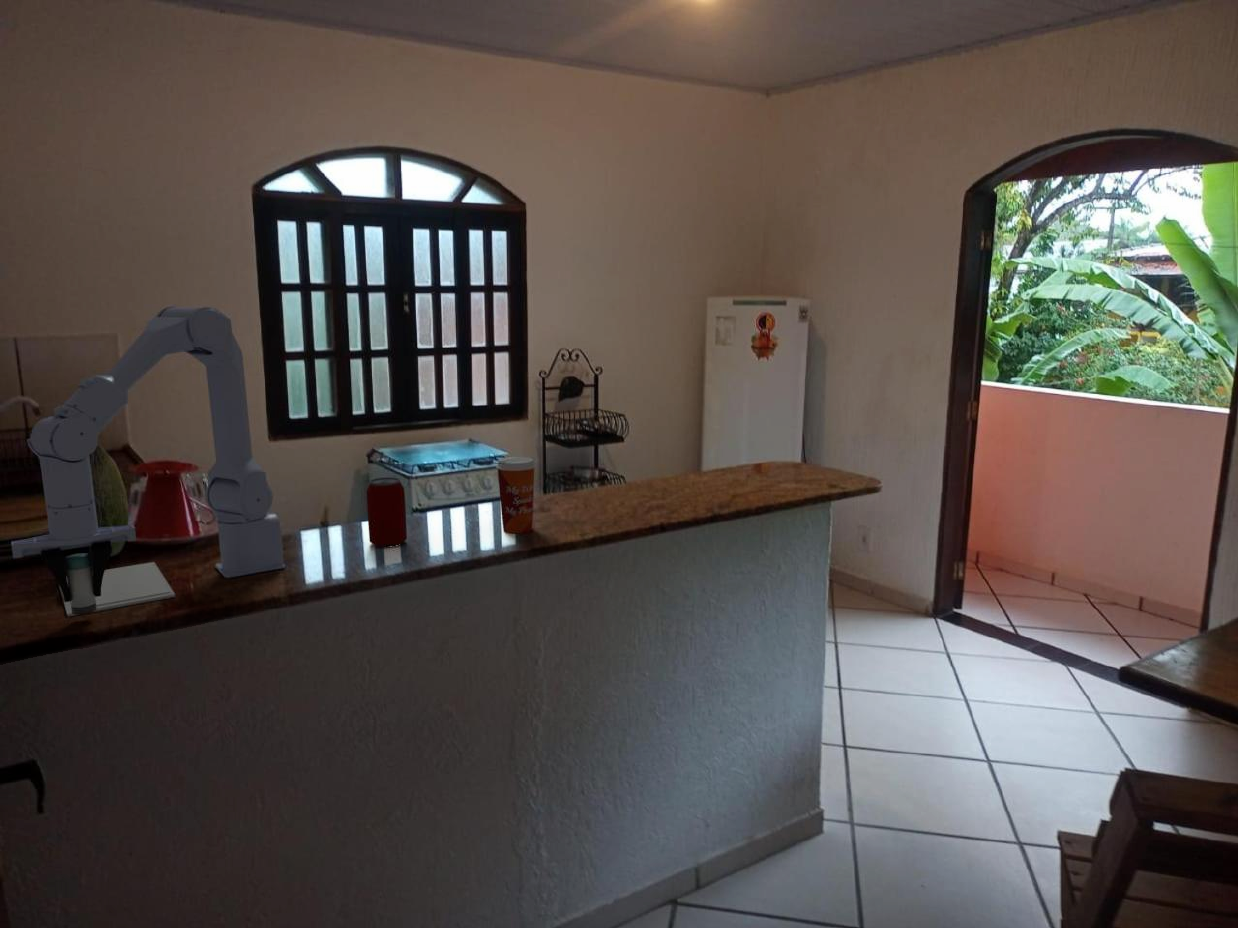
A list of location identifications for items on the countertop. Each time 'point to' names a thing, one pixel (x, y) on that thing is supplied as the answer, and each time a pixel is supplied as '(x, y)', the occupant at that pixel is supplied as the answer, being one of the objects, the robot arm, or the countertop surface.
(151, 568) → the clipboard
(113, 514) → the vegetable
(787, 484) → the countertop surface
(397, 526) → the beverage can
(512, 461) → the paper cup
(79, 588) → the white cylinder
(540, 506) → the countertop surface
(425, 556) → the countertop surface
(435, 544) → the countertop surface
